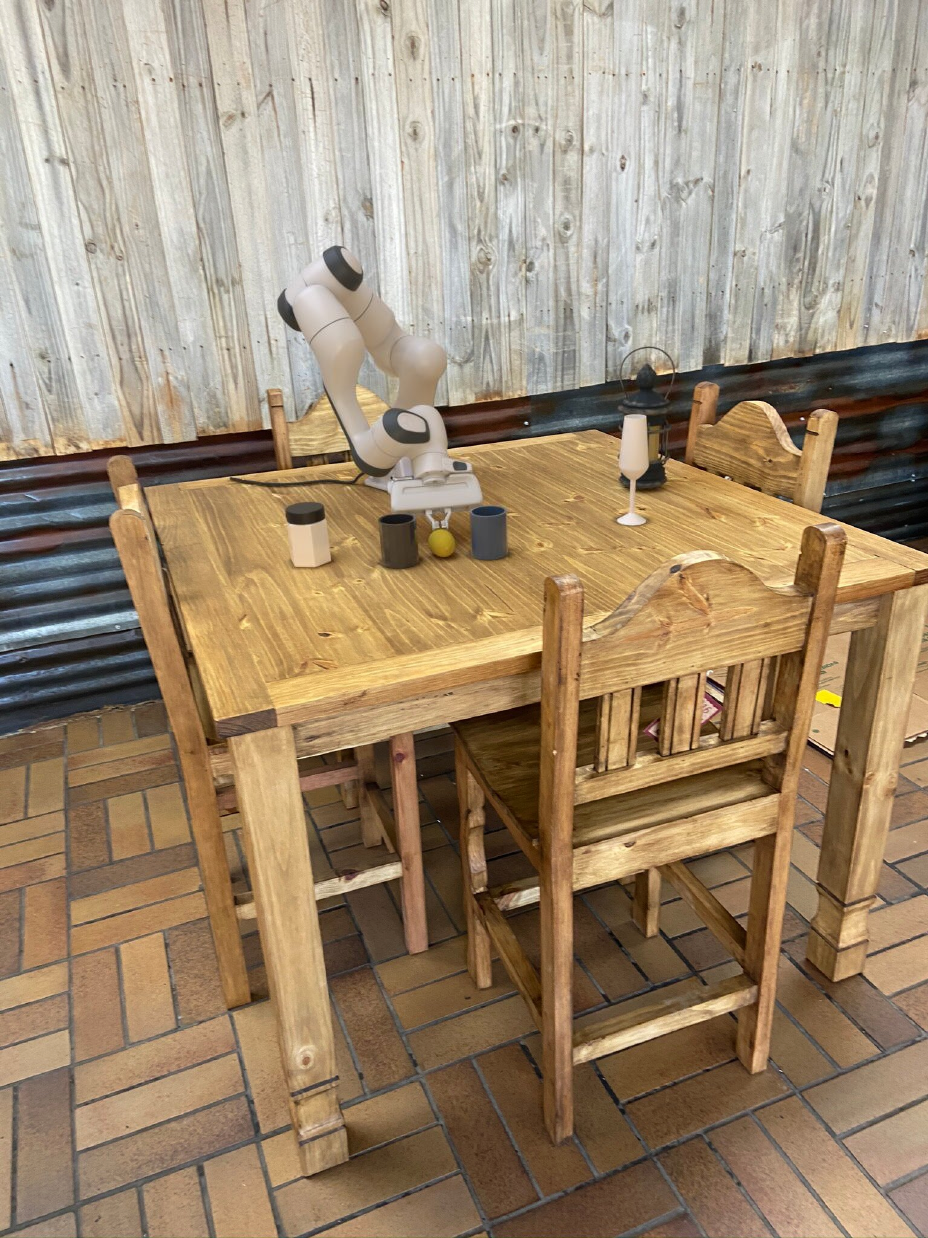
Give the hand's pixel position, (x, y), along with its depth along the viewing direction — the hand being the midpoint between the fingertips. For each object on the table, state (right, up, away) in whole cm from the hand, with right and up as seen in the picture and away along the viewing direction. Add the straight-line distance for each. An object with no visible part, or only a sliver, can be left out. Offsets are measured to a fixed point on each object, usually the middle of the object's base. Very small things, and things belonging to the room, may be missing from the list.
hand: (440, 529), depth 191 cm
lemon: (-1, -1, +1) cm, 2 cm away
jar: (-28, -7, -1) cm, 29 cm away
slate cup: (+11, -5, -2) cm, 12 cm away
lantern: (+51, +15, +38) cm, 66 cm away
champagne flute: (+44, +3, +14) cm, 46 cm away
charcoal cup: (-8, -7, -4) cm, 12 cm away
